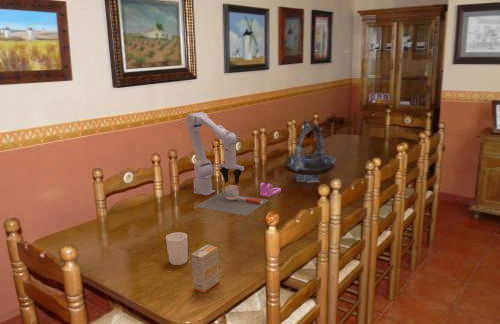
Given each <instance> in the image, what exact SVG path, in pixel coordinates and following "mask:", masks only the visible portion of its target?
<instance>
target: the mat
mask: <svg viewBox="0 0 500 324" xmlns="http://www.w3.org/2000/svg"><path fill="white" fill-rule="evenodd" d="M239 197H245V198H249V197H250V198H256V199H261V198H260V197H259V198H258V197H253V196H248V195H240V194H239ZM262 199H263V204H261V205H256V204H250V203H245V202H239V201H233V202H230V201H226V197H225V192H221V191H220V192H219V193H216V194H215V195H212V196H210V197H209V198H207V199H205V200H203V201H201V202H200V203H197V204H196V205H194V207H195V208H201V209H206V210H207V209H208V210H211V211H217V212H223V213H229V214H235V215H240V216H248V215H249V214H251V213H252V212H254V211H255V210H257V209H258V208H260V207H261V206H263V205H265V204H266V203H267V202H269V200H270V199H267V198H266V199H265V198H262Z"/></svg>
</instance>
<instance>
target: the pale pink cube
mask: <svg viewBox="0 0 500 324" xmlns="http://www.w3.org/2000/svg"><path fill="white" fill-rule="evenodd" d="M224 193H225V197H231V198H234V197H236V196H238V195H240V194H239V185H237V184H235V185H234V184H228V185H227V186H225V187H224Z"/></svg>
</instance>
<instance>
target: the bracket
mask: <svg viewBox="0 0 500 324" xmlns="http://www.w3.org/2000/svg"><path fill="white" fill-rule="evenodd" d="M259 193H260V196H262V197H267V198H271V197H272V196H274V195H276V194H279V193H282V189H281V188H280V187H273V184H271V183H266V182H261V183H260V184H259Z"/></svg>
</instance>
